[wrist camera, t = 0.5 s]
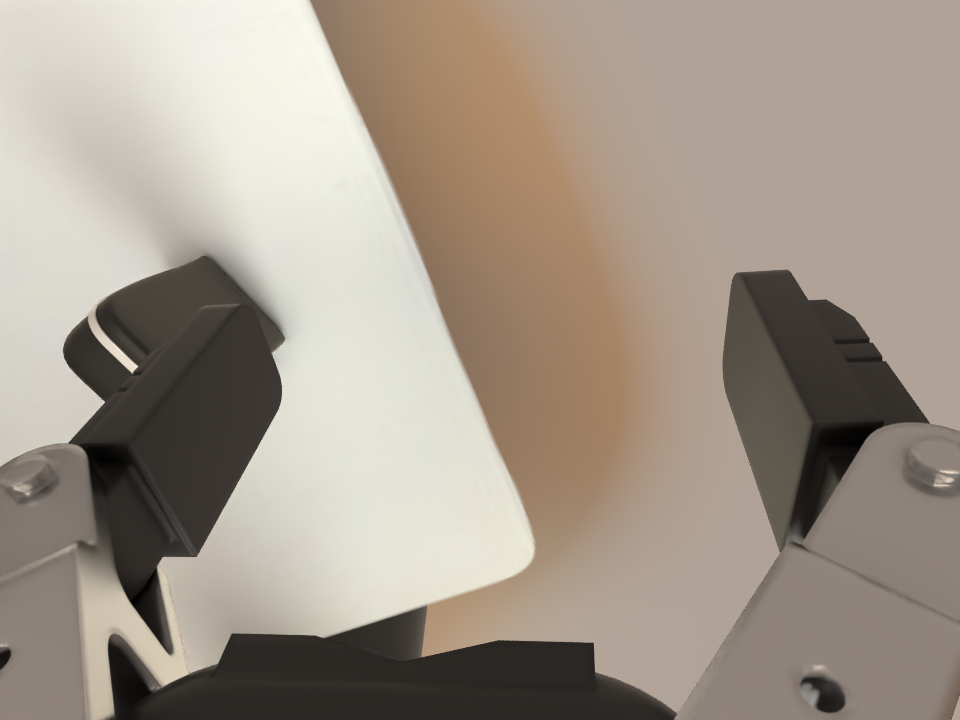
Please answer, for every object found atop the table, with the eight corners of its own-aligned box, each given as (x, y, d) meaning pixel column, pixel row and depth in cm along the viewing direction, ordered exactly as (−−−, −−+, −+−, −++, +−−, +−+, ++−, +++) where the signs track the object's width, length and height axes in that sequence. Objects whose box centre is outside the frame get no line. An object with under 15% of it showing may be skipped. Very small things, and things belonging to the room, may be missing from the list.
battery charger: (160, 290, 37) (27, 355, 26) (205, 248, 36) (86, 298, 25) (247, 377, 39) (157, 471, 28) (292, 339, 38) (216, 421, 27)
